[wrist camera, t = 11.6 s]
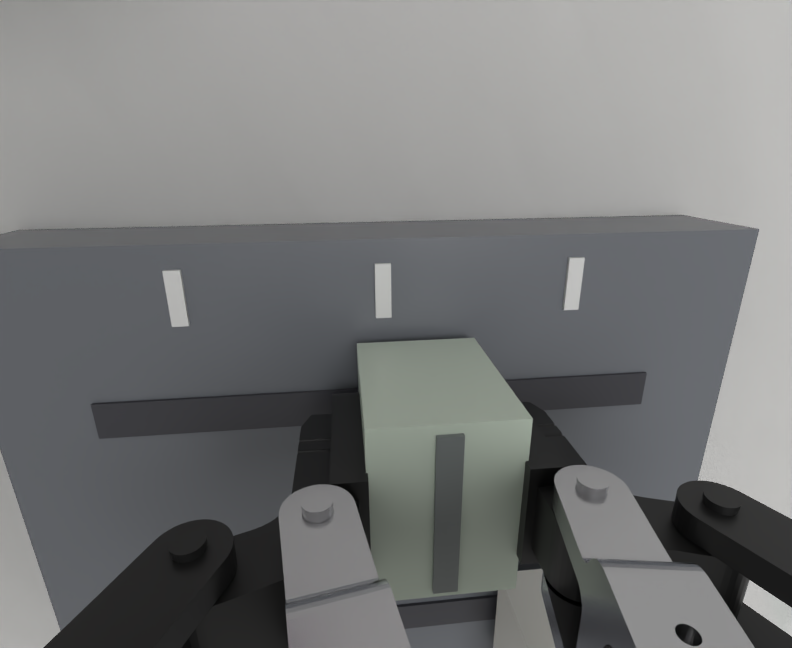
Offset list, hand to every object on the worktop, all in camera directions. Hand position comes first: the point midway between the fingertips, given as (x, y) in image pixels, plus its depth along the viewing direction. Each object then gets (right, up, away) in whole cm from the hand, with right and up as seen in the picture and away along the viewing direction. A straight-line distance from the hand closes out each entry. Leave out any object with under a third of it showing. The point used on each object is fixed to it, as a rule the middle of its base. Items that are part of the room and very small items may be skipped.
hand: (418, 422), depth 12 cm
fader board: (-1, -2, +5) cm, 6 cm away
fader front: (0, 0, +1) cm, 1 cm away
